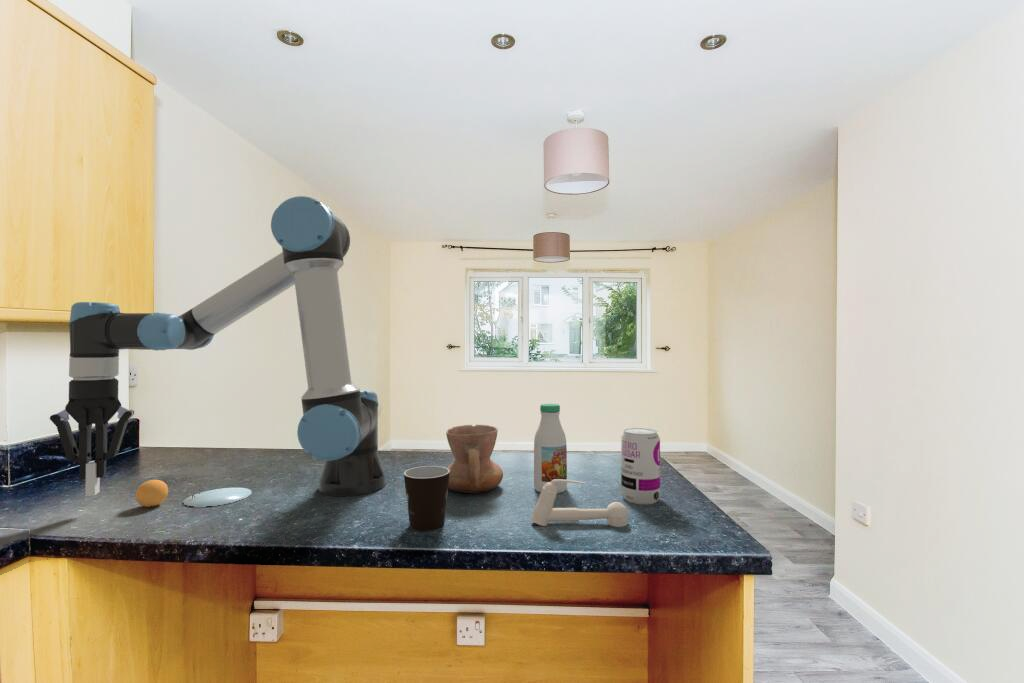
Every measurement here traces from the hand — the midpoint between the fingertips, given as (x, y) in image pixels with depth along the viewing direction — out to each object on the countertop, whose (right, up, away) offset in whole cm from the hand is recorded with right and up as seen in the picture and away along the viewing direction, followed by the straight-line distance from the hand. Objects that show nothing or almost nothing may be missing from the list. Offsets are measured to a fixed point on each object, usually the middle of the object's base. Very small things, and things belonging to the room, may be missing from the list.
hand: (92, 494), depth 94 cm
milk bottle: (+95, -4, +15) cm, 96 cm away
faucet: (+98, -4, -6) cm, 99 cm away
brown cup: (+70, -4, -5) cm, 70 cm away
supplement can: (+114, -4, +8) cm, 114 cm away
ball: (+9, -1, +4) cm, 10 cm away
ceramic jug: (+76, -4, +15) cm, 78 cm away
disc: (+19, -4, +10) cm, 22 cm away
